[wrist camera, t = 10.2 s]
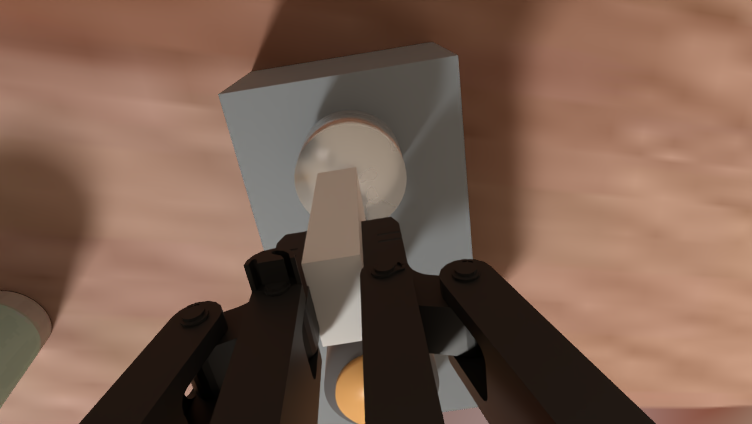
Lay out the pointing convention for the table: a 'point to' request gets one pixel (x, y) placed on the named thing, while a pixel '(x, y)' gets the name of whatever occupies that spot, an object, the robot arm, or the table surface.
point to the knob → (354, 160)
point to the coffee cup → (19, 338)
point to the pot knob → (350, 380)
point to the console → (416, 142)
